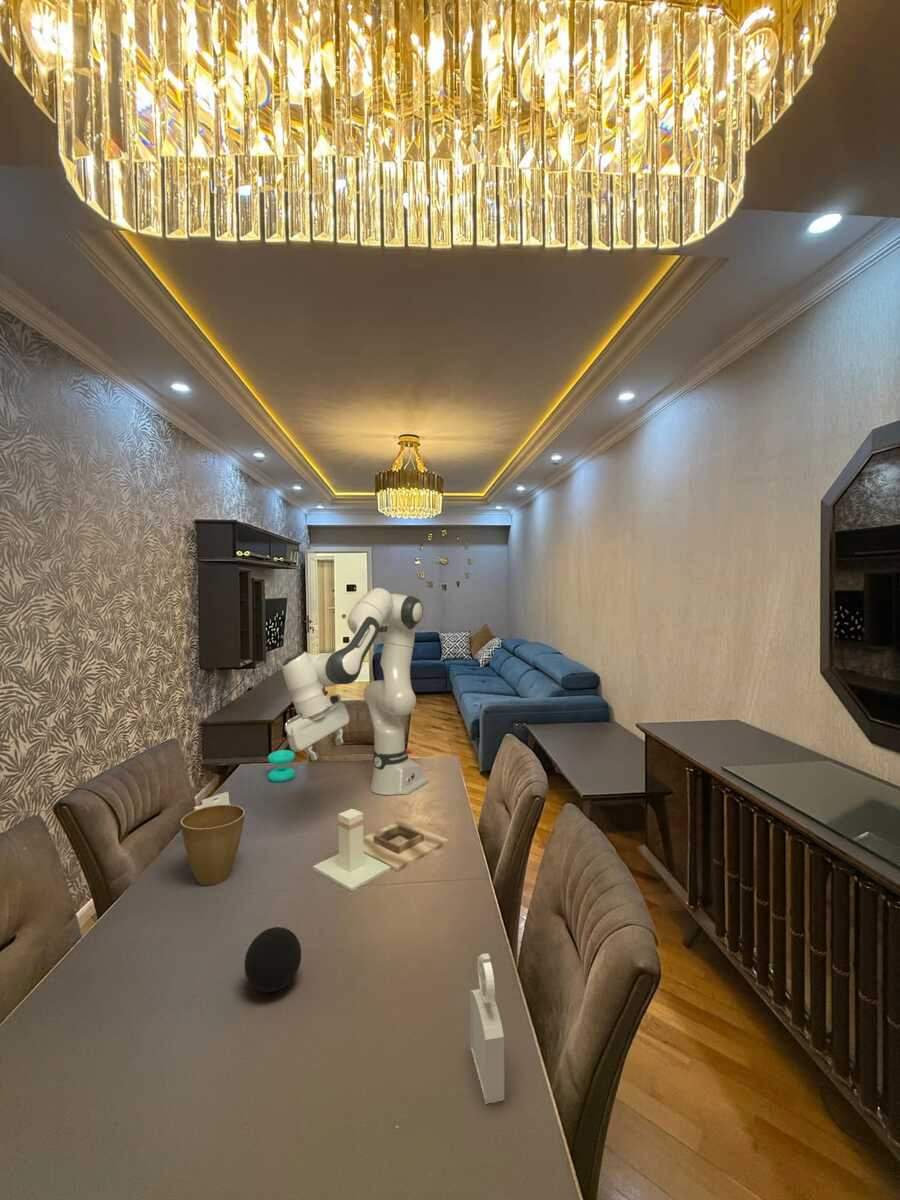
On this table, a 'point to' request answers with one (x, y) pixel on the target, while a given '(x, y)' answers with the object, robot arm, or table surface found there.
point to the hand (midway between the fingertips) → (328, 751)
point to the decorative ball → (272, 959)
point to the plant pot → (212, 841)
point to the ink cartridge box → (215, 801)
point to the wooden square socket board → (406, 852)
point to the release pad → (354, 878)
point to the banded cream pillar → (351, 840)
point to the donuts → (281, 772)
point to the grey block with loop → (487, 1034)
